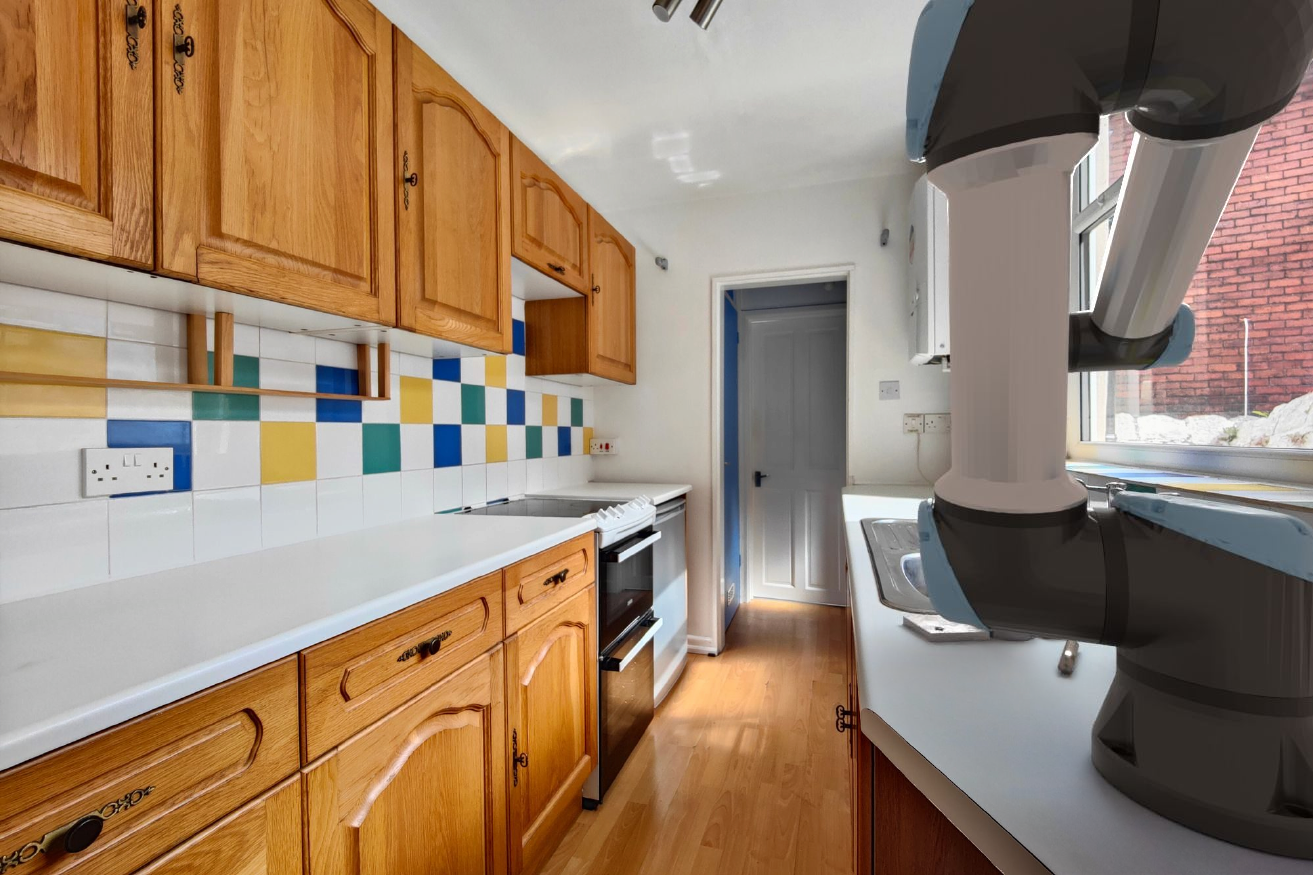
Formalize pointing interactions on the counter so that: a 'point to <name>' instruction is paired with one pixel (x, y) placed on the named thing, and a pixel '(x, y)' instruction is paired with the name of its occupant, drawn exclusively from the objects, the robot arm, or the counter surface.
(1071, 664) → the old pin
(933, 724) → the counter surface
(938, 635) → the hinge
